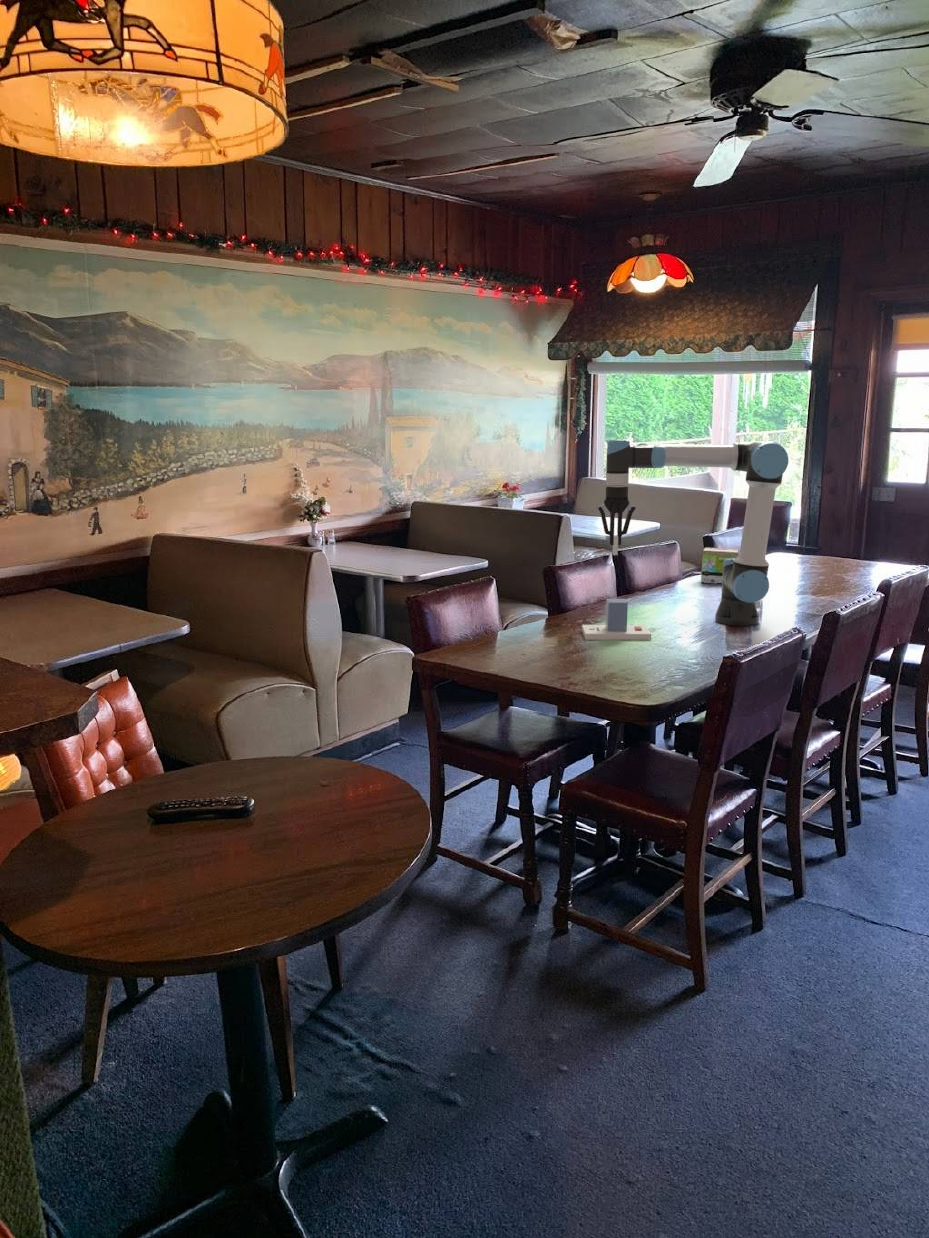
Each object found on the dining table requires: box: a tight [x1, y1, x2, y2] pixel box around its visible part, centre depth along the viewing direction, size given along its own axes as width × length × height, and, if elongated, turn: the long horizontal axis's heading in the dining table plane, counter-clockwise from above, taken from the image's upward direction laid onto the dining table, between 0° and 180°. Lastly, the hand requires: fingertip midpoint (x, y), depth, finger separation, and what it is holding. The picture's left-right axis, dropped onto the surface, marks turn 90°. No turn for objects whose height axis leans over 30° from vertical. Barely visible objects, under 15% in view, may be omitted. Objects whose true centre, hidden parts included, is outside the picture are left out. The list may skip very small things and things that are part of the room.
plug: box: [605, 598, 629, 632], centre depth 318 cm, size 6×6×12 cm
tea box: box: [700, 547, 740, 584], centre depth 411 cm, size 15×10×15 cm
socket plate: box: [581, 624, 652, 641], centre depth 319 cm, size 22×13×3 cm, turn 88°
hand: (615, 554), depth 322 cm, fingers closed
